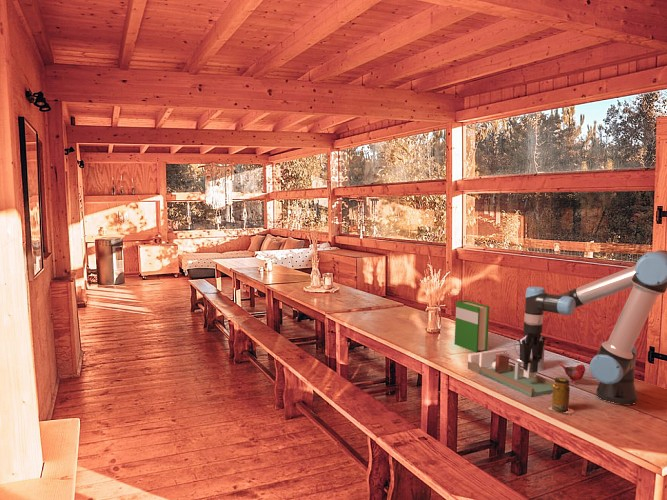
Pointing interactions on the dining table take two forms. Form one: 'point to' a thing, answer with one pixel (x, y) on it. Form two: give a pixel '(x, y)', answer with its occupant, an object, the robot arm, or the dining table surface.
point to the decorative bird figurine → (574, 372)
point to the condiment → (560, 395)
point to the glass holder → (541, 363)
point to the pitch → (509, 374)
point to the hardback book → (471, 325)
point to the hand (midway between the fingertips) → (529, 376)
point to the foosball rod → (503, 360)
